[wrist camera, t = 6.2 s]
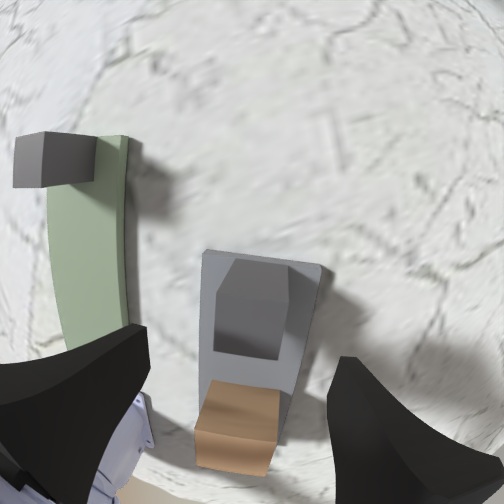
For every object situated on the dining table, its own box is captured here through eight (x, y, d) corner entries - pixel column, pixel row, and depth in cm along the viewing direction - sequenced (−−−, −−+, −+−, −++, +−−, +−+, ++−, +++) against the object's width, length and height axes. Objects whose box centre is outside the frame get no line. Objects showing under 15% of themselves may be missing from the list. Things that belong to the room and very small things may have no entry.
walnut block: (269, 429, 20) (265, 476, 15) (210, 420, 20) (196, 465, 16) (279, 389, 19) (276, 442, 14) (211, 379, 19) (194, 428, 14)
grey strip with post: (275, 443, 22) (271, 494, 16) (202, 432, 22) (186, 480, 17) (319, 264, 17) (336, 308, 11) (206, 249, 17) (171, 285, 12)
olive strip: (134, 366, 21) (101, 412, 15) (73, 345, 22) (36, 379, 16) (128, 136, 16) (69, 127, 10) (57, 142, 17) (0, 141, 11)
